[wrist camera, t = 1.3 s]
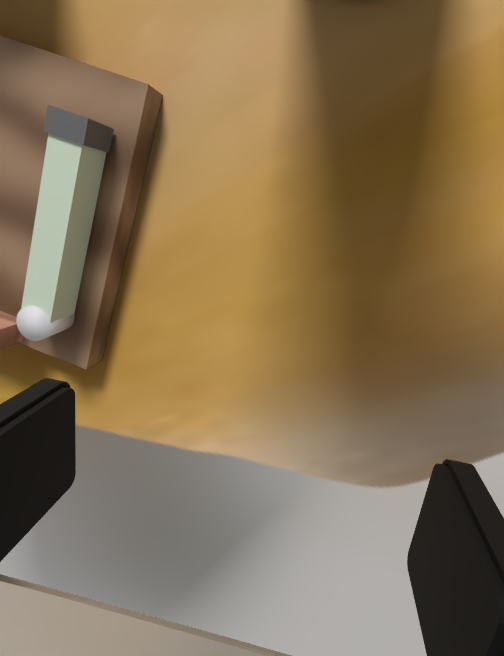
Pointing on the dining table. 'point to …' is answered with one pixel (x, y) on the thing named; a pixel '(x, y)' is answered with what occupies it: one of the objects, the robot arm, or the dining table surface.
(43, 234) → the stool leg
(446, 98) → the dining table surface
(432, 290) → the dining table surface
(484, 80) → the dining table surface
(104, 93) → the stool seat
